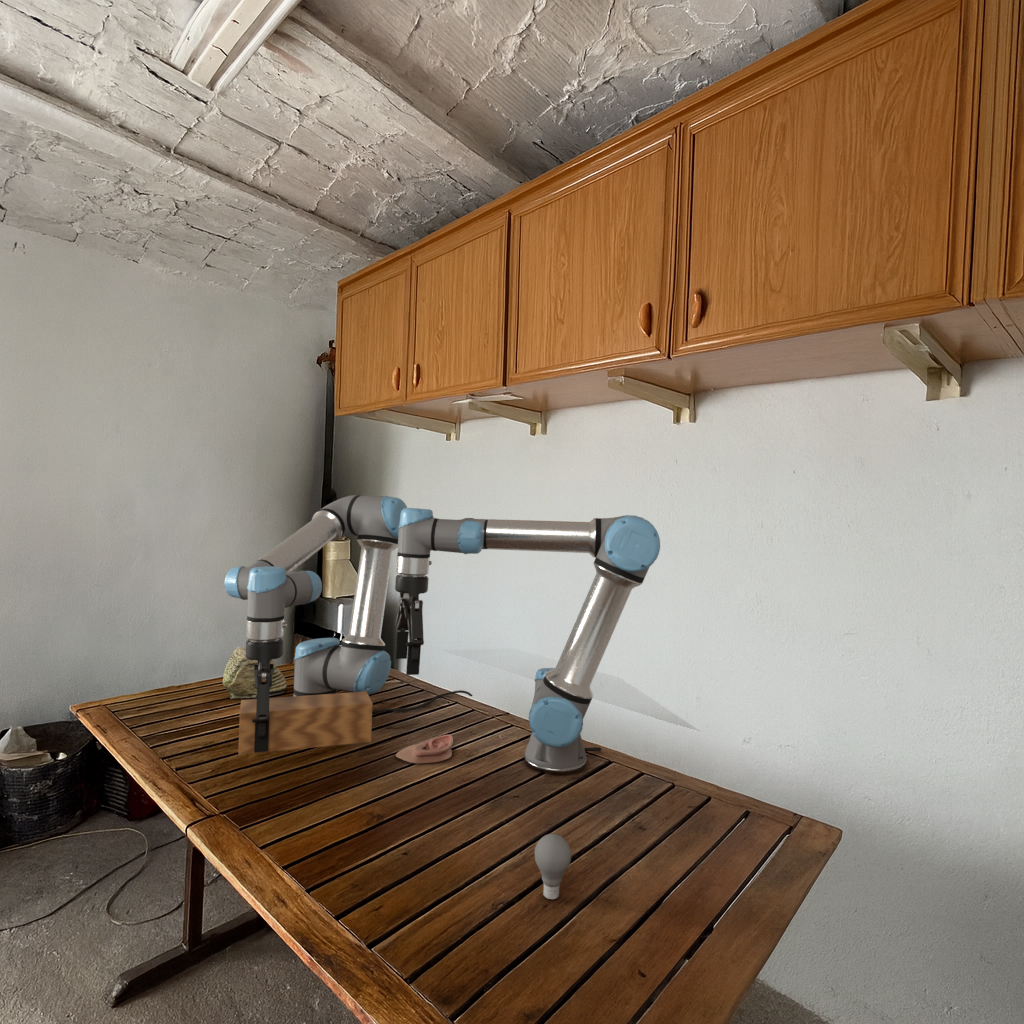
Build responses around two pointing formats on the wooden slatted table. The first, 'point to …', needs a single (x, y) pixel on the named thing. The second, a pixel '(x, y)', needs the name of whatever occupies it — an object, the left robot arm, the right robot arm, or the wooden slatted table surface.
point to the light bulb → (552, 862)
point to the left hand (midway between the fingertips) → (261, 742)
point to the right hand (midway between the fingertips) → (406, 666)
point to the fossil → (248, 676)
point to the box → (309, 721)
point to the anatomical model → (428, 750)
